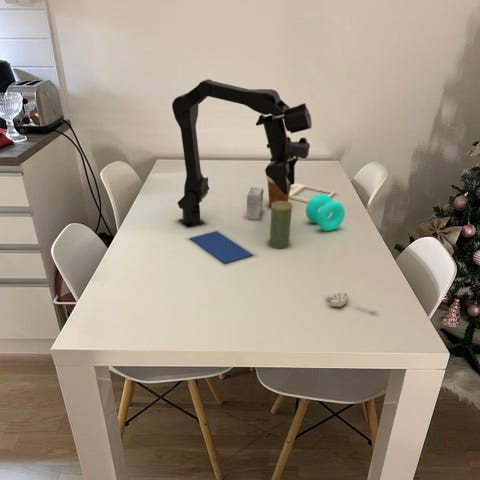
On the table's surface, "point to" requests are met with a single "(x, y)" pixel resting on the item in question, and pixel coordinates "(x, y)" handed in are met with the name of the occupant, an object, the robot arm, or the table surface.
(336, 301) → the game controller
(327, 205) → the donuts
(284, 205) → the tea tin
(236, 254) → the blue mat
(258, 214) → the medicine box
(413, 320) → the table surface
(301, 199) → the photo frame
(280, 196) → the disposable coffee cup
